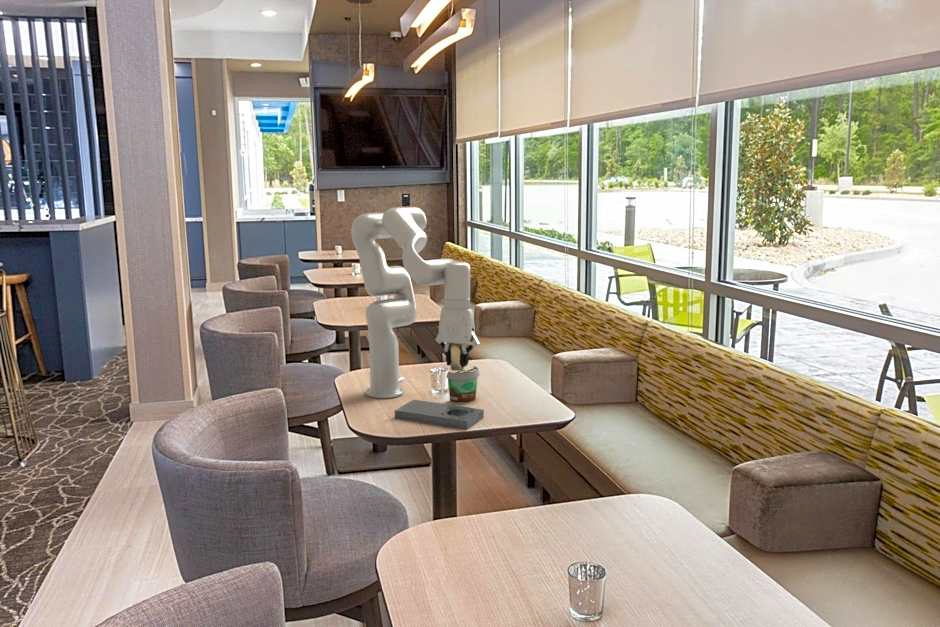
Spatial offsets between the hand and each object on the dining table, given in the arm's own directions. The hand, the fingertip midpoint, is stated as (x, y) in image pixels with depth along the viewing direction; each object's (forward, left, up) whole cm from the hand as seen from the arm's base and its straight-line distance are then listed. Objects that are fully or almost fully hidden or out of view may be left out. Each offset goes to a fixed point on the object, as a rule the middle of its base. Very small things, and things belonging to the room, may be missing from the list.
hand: (457, 364), depth 228 cm
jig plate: (0, -6, -17) cm, 18 cm away
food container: (-20, -6, -17) cm, 27 cm away
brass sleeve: (0, 0, -1) cm, 1 cm away
